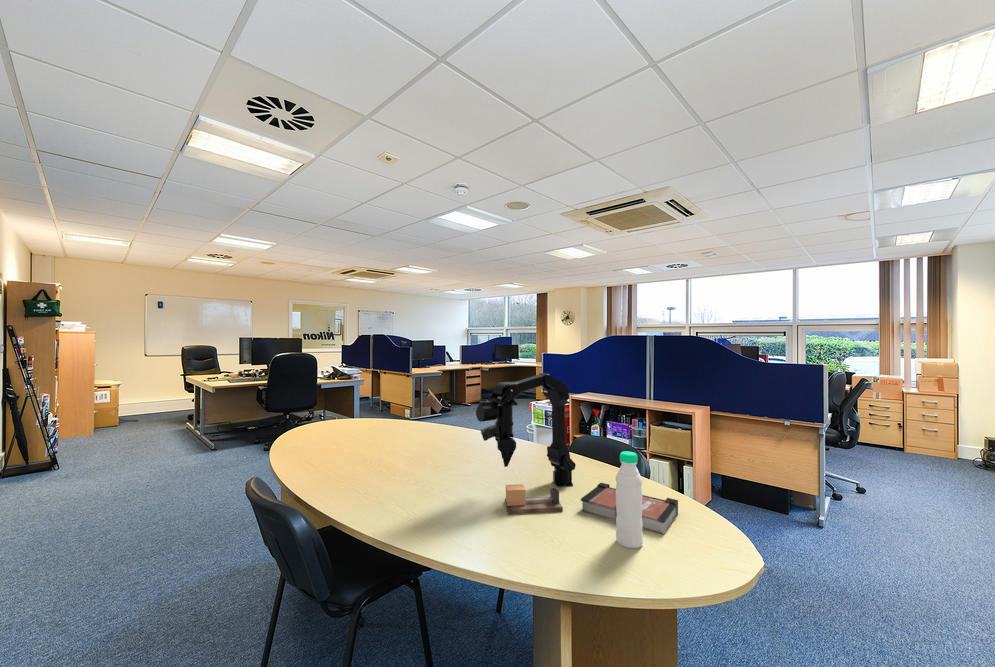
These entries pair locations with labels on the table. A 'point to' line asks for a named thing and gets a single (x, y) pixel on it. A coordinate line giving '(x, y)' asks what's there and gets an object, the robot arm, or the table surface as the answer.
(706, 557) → the table surface
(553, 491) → the guide rail
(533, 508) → the board
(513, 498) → the block
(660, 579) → the table surface
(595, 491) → the book
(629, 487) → the water bottle
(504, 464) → the robot arm
